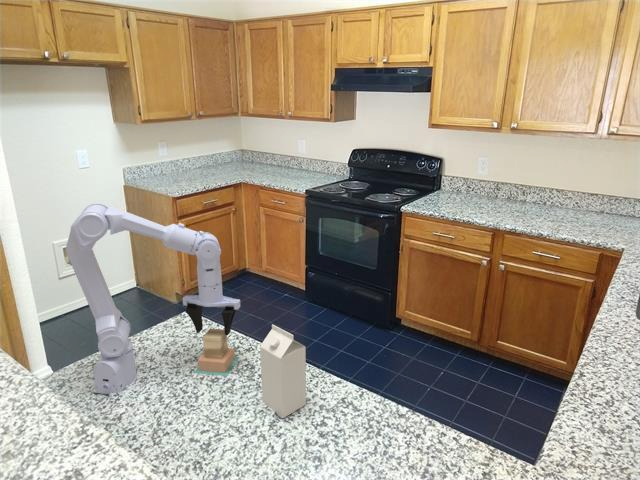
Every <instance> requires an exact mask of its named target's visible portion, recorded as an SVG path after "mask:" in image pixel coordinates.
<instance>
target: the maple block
mask: <svg viewBox="0 0 640 480" xmlns="http://www.w3.org/2000/svg"><path fill="white" fill-rule="evenodd" d="M202 340H203V351H204V352H203V353H204V354H205V358H211V359H222V358H223V357H224V355H225V354H226V353H227V351H228V348H229V347H228V346H229V345H228V335H225V331H224V329H221V328H209V329H208V330H207V331H206V333H205V334H204V335H203V336H202Z"/></svg>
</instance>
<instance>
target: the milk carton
mask: <svg viewBox="0 0 640 480" xmlns="http://www.w3.org/2000/svg"><path fill="white" fill-rule="evenodd" d="M259 349H260V372H261V373H260V374H261V391H262V392H261V395H262V403H263V404H265V405H266V406H268V407H269V408H271V410H273V411H275V413H274V414H275V415H277V416H278V417H279V418H281V419H284V418H286V417H288V416H289V415H291V414H293V413H294V412H296V411H298V410H300V409H301V408H303V407H304V406H306V405H307V371H306V368H307V367H306V362H307V361H306V358H307V357H306V346H305V345H303V344H302V343H300V342H298V341H296V340H295V339H294V334H292V333H290V332H288V331H286V330H284V329H282V328H281V327H278V326H277V325H274V324H271V330H270V331H269V332H268V334H267V335H266V337H265V338H264V340H263V342H262V343H261V344H260V347H259Z"/></svg>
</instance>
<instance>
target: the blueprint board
mask: <svg viewBox="0 0 640 480" xmlns="http://www.w3.org/2000/svg"><path fill="white" fill-rule="evenodd" d="M239 359H240V356H235V359H234V361H233V362H232V364H231V365H230V367H229V368H228V370H227V371H226V373H216V372H206V371H199V366H197V367H196V368H195V370H194V371H193V373H194V374H202V375H203V374H204V375H211V376H213V375H214V376H221V377H228V376H229V374H231V371H232V370H233V368H234V367H235V365H236V363H237V362H238V361H239Z"/></svg>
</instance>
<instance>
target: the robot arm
mask: <svg viewBox="0 0 640 480" xmlns="http://www.w3.org/2000/svg"><path fill="white" fill-rule="evenodd" d="M108 231H110V232H109V234H110V235H116V234H118V233H122V232H124V231H127V232H131V233H134V234H138V235H141V236H145V237H149V238H153V239H156V240H160V241H161V242H162V243H163V245H164V247H166V248H168V249H171V250H174V251H178V252H181V253H184V254H188V255H190V256H191V255H192V256H196V259H197V260H196V261H197V263H196V264H197V265H196V274H197V284H198V294H197V295H185V296H183V298H182V306H186V308H185V313H186V314H187V315H188V317H189V318H190V319H191V320H190V321H192V324H193V326H194V328H195V331H196V333H198V334H199V333H200V332H202V331H203V326H204V325H203V323H204V322H203V307H205V308H207V307H208V308H212V307H214V308H215V307H216V308H224V309H222V311H221V315H222V320H223V325H224V327H223V328H224V331H225V335H227V336H228V335H230V333H231V332H232V331H231V330H232V325H233V320H234V318H235V315H236V312H237V310H239V309H240V308H241V299H240V298H239V299H238V298H234V297H233V298H232V297H229V296H225V295H223V281H222V280H223V279H222V266H221V263H220V262H221V254H222V249H221V246H220V243H219V241H218V238H217V237H216V236H215V235H214V234H212V233H211V232H208V231H207V232H205V231H202V230H199V231H196V230H193V229H191V228H188V227H185V224H184V223H181V222H178V224H176V223H171V224H169V225H166V226H164V225H162V224H160V223H158V222H154V221H152V220H149V219H147V218H145V217H141V216H138V215H136V214H134V213H131V212H128V211H125V210H123V209H120V208H118V207H116V206H110V205H109V206H106V205H105V204H102V203H100V202H99V203H96V202H95V203H91V204H89V205H87V206H86V207H85V208H84V209H83V210H82V212H81V213H80V214H79V215H78V217H77V218H76V219H75V220H74V221H73V223H72V224H71V226H70V231H69V235H68V238H67V242H66V246H65V252H66V255H67V258H68V259H69V262H70V265H71V267H72V269H73V272H74V275H75V276H76V278H77V280H78V283H79V286H80V288H81V290H82V292H83V295H84V296H85V299H86V301H87V303H88V306H89V309H90V311H91V313H92V316H93V318H94V320H95V330H96V334H97V338H98V343H97V347H98V351H99V353H100V356H99V359H98V360H97V362H96V363H95V364H94V365H93V370H92V373H93V381H94V386H95V388H94V389H93V391H92V392H93V393H95V394H103V395H111V394H120V393H121V392H123V390H124V389H125V388H126V387H127V386H128V385H130V384H131V383H134V381H136V379H137V367H136V360H135V359H136V358H135V353H134V346H133V343H132V341H131V339H129V336H130V333H131V323H130V322H129V320H128V319H126V318H125V317H124V316H123V315H122V314H123V313H122V311H121V310H119V309H118V308H117V307H116V304H115V302H114V299H113V297H112V294H111V292H110V289H109V287H108V285H107V282H106V279H105V277H104V275H103V272H102V270H101V267H100V265H99V263H98V259H97V257H96V255H95V253H94V251H93V248H94V246H95V245H96V243H97V242H98V241H99V240H101V239H102V238H103V237H104V236H106V234H107V232H108Z"/></svg>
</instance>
